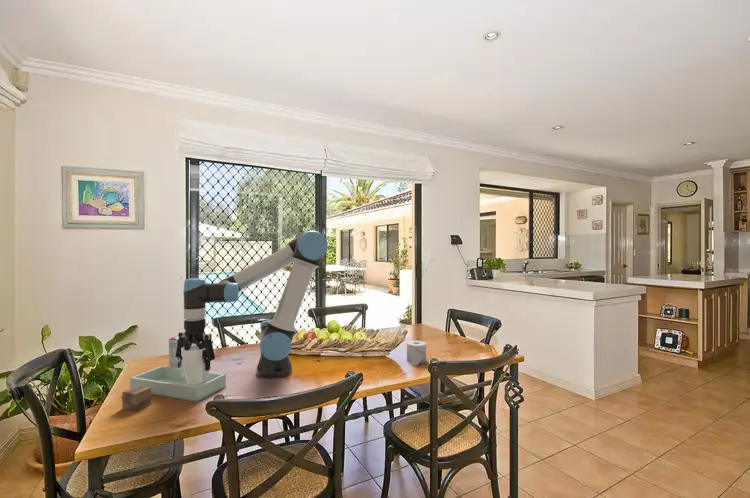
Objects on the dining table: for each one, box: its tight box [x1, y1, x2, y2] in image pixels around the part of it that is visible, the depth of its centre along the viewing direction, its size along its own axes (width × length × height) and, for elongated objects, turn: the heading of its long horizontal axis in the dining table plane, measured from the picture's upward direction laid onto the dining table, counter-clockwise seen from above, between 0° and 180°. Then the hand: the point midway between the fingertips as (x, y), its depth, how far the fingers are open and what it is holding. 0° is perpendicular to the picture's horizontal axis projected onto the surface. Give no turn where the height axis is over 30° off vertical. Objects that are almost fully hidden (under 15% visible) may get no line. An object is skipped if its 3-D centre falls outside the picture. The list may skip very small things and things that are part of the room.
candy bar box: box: [168, 335, 195, 368], centre depth 165 cm, size 11×5×16 cm, turn 168°
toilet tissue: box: [406, 340, 427, 366], centre depth 181 cm, size 9×13×9 cm
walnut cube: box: [121, 386, 152, 412], centre depth 131 cm, size 6×6×6 cm
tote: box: [129, 365, 227, 403], centre depth 147 cm, size 32×15×5 cm, turn 72°
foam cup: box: [181, 344, 206, 384], centre depth 144 cm, size 10×9×13 cm
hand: (195, 377), depth 144 cm, fingers closed on foam cup, 9 cm apart
